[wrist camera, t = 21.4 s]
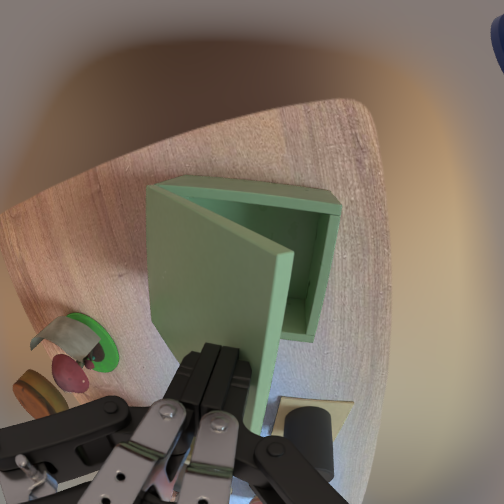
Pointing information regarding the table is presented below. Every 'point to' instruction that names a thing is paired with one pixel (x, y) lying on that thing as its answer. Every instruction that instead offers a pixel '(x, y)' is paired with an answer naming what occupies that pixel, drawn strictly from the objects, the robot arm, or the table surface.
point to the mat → (335, 408)
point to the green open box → (278, 234)
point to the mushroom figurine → (66, 363)
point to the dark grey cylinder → (312, 437)
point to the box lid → (216, 288)
